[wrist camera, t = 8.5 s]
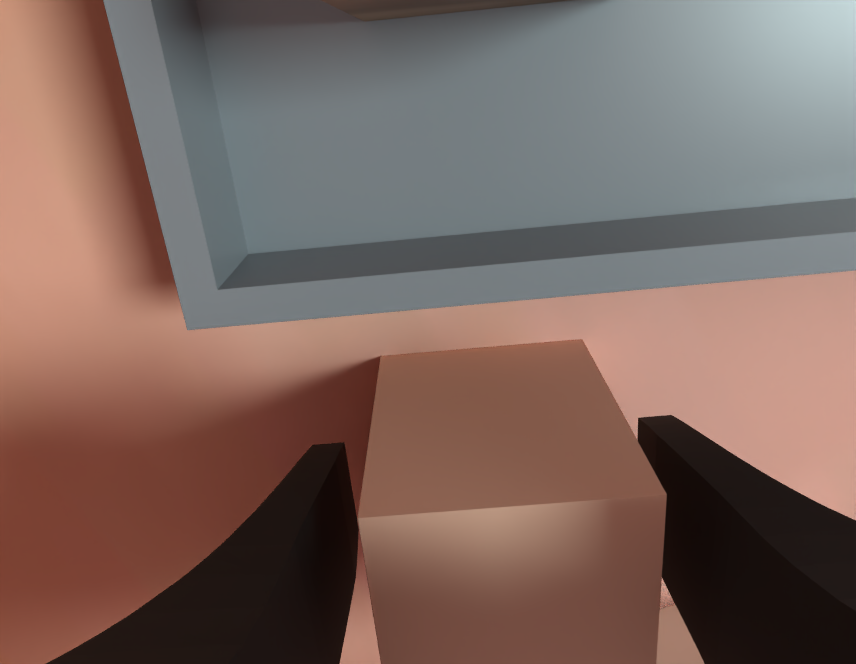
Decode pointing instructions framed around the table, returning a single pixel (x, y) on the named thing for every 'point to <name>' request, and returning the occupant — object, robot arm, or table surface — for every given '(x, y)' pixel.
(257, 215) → the tray
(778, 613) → the robot arm
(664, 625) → the cream block
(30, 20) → the table surface
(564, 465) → the peach block
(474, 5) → the walnut block
